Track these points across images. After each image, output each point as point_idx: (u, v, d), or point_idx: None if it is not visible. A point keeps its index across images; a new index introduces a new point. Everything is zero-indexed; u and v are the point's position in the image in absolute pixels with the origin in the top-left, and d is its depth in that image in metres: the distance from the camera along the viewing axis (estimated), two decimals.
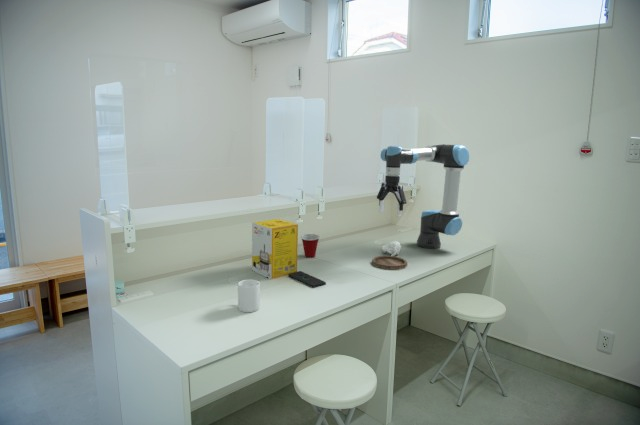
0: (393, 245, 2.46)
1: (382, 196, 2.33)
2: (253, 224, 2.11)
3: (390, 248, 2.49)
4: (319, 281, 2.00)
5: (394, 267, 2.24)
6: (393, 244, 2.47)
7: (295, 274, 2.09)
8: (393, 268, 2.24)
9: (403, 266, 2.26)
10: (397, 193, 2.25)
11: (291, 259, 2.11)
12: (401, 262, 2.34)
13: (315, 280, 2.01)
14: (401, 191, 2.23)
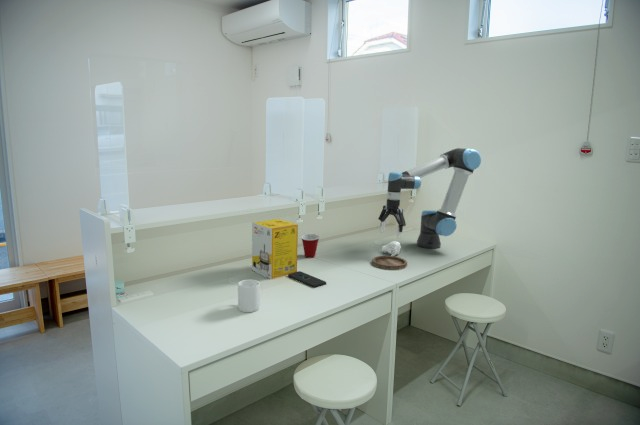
0: (393, 245, 2.46)
1: (383, 218, 2.52)
2: (253, 224, 2.11)
3: (390, 248, 2.49)
4: (320, 281, 2.00)
5: (394, 267, 2.24)
6: (393, 244, 2.47)
7: (295, 274, 2.09)
8: (393, 268, 2.24)
9: (403, 266, 2.26)
10: (397, 216, 2.44)
11: (291, 259, 2.11)
12: (401, 262, 2.34)
13: (315, 280, 2.02)
14: (401, 214, 2.41)
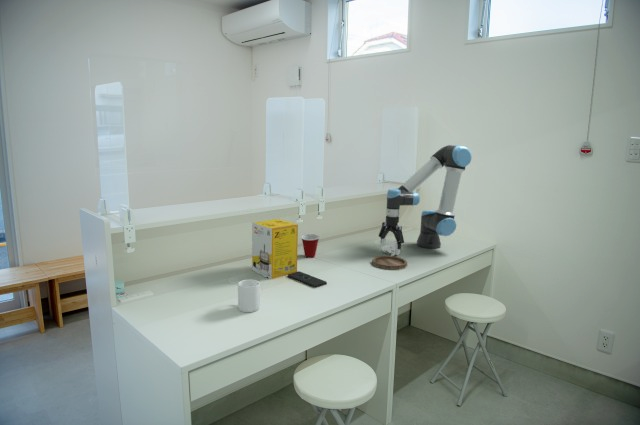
0: (393, 245, 2.46)
1: (383, 234, 2.53)
2: (253, 224, 2.11)
3: (390, 248, 2.49)
4: (320, 281, 2.00)
5: (394, 267, 2.24)
6: (393, 244, 2.47)
7: (295, 274, 2.08)
8: (393, 268, 2.24)
9: (403, 266, 2.26)
10: (396, 233, 2.46)
11: (291, 259, 2.11)
12: (401, 262, 2.34)
13: (316, 280, 2.02)
14: (400, 231, 2.43)
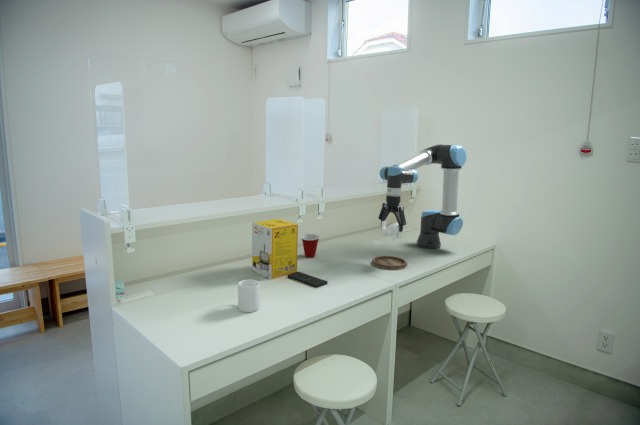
0: (394, 227, 2.25)
1: (383, 216, 2.32)
2: (253, 224, 2.11)
3: (391, 231, 2.27)
4: (321, 281, 2.01)
5: (394, 267, 2.24)
6: (394, 226, 2.25)
7: (294, 275, 2.08)
8: (393, 268, 2.24)
9: (403, 266, 2.26)
10: (397, 214, 2.24)
11: (291, 259, 2.11)
12: (401, 262, 2.34)
13: (316, 280, 2.02)
14: (402, 212, 2.22)
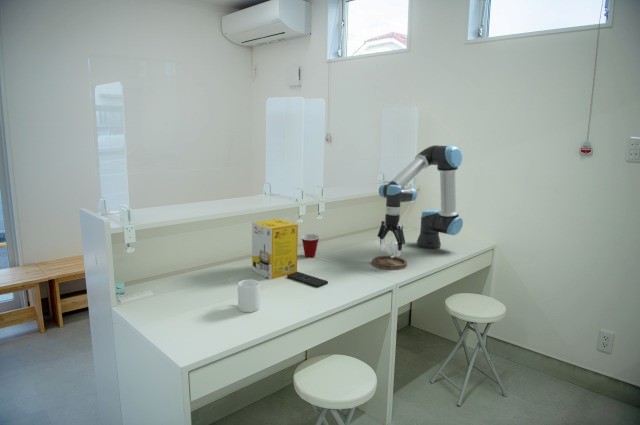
0: (393, 246, 2.26)
1: (383, 234, 2.33)
2: (253, 224, 2.11)
3: (390, 249, 2.29)
4: (321, 281, 2.01)
5: (394, 267, 2.24)
6: (393, 245, 2.26)
7: (294, 275, 2.08)
8: (393, 268, 2.24)
9: (403, 266, 2.26)
10: (397, 232, 2.26)
11: (291, 259, 2.11)
12: (401, 262, 2.34)
13: (317, 280, 2.02)
14: (401, 231, 2.23)
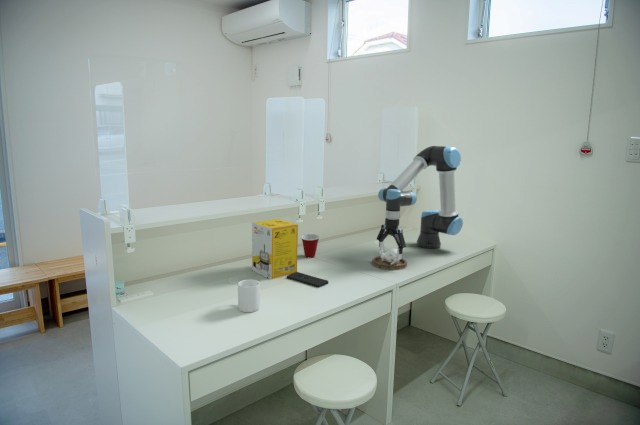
0: (393, 253, 2.27)
1: (382, 238, 2.34)
2: (253, 224, 2.11)
3: (389, 256, 2.29)
4: (322, 280, 2.01)
5: (394, 267, 2.24)
6: (393, 252, 2.27)
7: (294, 275, 2.07)
8: (393, 268, 2.24)
9: (403, 266, 2.26)
10: (397, 236, 2.26)
11: (291, 259, 2.11)
12: (401, 262, 2.34)
13: (317, 280, 2.02)
14: (401, 235, 2.23)
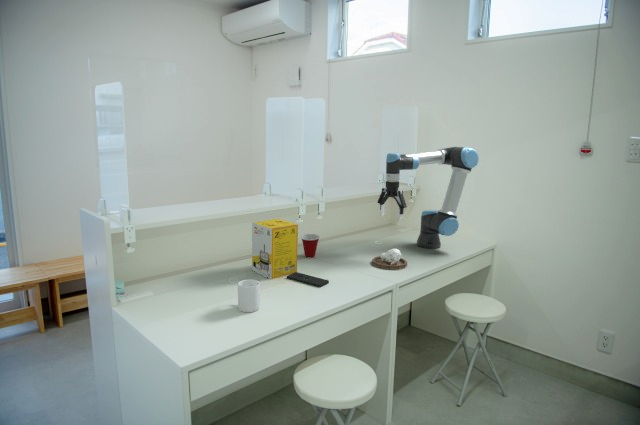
0: (393, 253, 2.27)
1: (383, 201, 2.45)
2: (253, 224, 2.11)
3: (389, 256, 2.29)
4: (322, 280, 2.02)
5: (394, 267, 2.24)
6: (393, 252, 2.27)
7: (294, 275, 2.07)
8: (393, 268, 2.24)
9: (403, 266, 2.26)
10: (397, 198, 2.38)
11: (291, 259, 2.11)
12: (401, 262, 2.34)
13: (317, 279, 2.02)
14: (401, 196, 2.35)
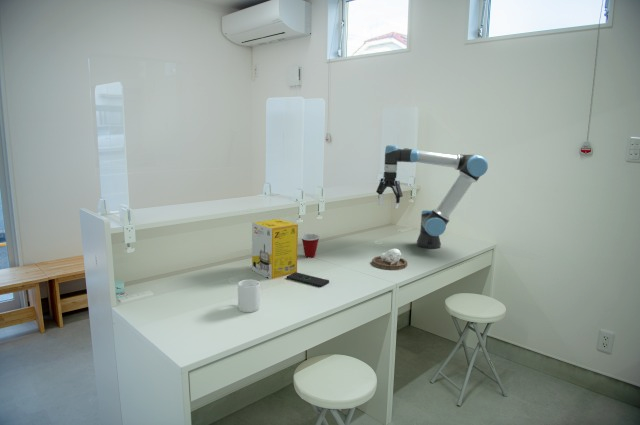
0: (393, 253, 2.27)
1: (381, 190, 2.60)
2: (253, 224, 2.11)
3: (389, 256, 2.29)
4: (323, 280, 2.02)
5: (394, 267, 2.24)
6: (393, 252, 2.27)
7: (294, 276, 2.07)
8: (393, 268, 2.24)
9: (403, 266, 2.26)
10: (394, 187, 2.52)
11: (291, 259, 2.11)
12: (401, 262, 2.34)
13: (318, 279, 2.02)
14: (398, 185, 2.50)
